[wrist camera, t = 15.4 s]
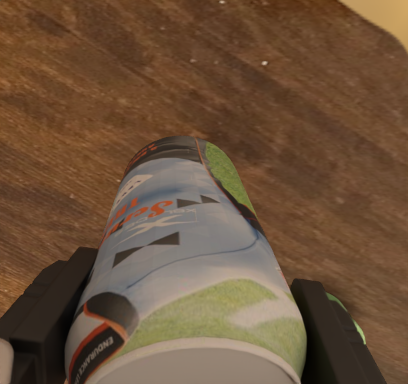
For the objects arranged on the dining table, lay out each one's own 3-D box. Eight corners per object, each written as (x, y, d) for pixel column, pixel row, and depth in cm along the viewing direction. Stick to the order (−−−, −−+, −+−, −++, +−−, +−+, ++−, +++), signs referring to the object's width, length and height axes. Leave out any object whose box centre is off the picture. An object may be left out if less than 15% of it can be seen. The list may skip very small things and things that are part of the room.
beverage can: (155, 109, 16) (3, 215, 4) (281, 173, 17) (413, 391, 5) (112, 209, 18) (-63, 448, 7) (225, 261, 19) (238, 543, 8)
